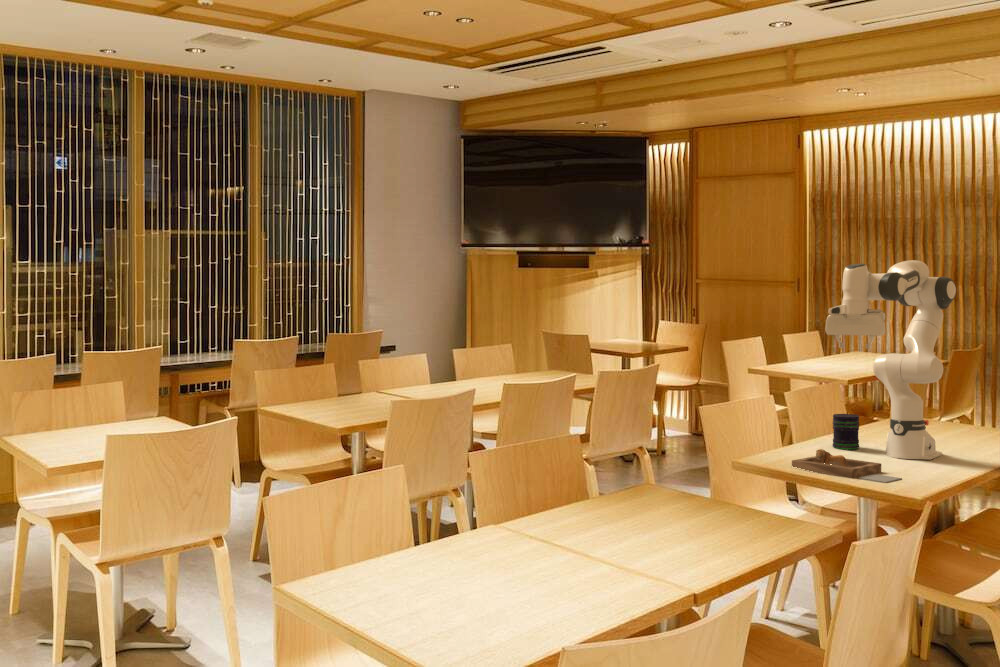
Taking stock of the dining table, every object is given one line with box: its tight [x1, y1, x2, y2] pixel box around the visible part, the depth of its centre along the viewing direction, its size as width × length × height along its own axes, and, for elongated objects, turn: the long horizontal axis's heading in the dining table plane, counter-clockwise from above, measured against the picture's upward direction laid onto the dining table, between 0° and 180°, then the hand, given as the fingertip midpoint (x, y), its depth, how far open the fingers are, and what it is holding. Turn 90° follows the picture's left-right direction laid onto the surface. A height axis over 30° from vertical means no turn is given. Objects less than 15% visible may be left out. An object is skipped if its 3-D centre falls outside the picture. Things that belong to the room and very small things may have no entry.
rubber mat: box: [857, 473, 903, 484], centre depth 322 cm, size 10×10×1 cm
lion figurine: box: [815, 448, 848, 467], centre depth 340 cm, size 12×4×7 cm, turn 70°
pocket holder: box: [791, 455, 882, 479], centre depth 339 cm, size 18×24×3 cm
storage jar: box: [832, 413, 860, 451], centre depth 376 cm, size 10×10×15 cm
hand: (854, 348), depth 341 cm, fingers open, 8 cm apart
